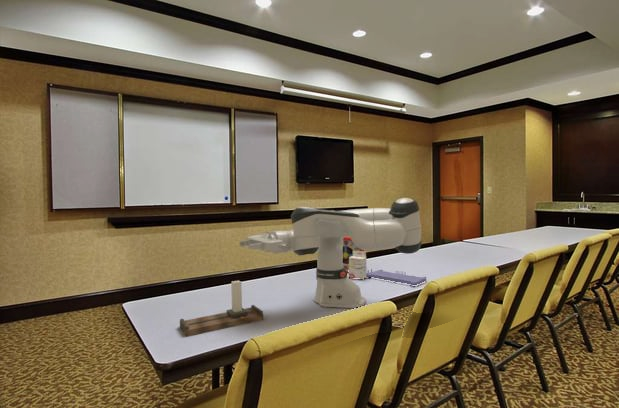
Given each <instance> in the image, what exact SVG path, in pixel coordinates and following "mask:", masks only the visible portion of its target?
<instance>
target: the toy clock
mask: <svg viewBox="0 0 619 408" xmlns="http://www.w3.org/2000/svg"><path fill="white" fill-rule="evenodd" d="M353 251H363V252H365V250H362V249H359V248H358V247H357V246H356V245H355V244H354V243H353V242H352V240H351V238H350V236H346V237H343V268H344V269H345V270H347V269H348V270H349V257H351V256H353ZM357 254H361V253H357Z"/></svg>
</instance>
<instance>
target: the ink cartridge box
mask: <svg viewBox="0 0 619 408" xmlns="http://www.w3.org/2000/svg"><path fill="white" fill-rule="evenodd" d="M357 253H361V254H357ZM367 273H368V271H367V252H366V251H364V252H363V251H353V256H351V257H349V272H348V278H349V277H352V278H360V279H364V278H366V277H367ZM366 279H367V278H366Z"/></svg>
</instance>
